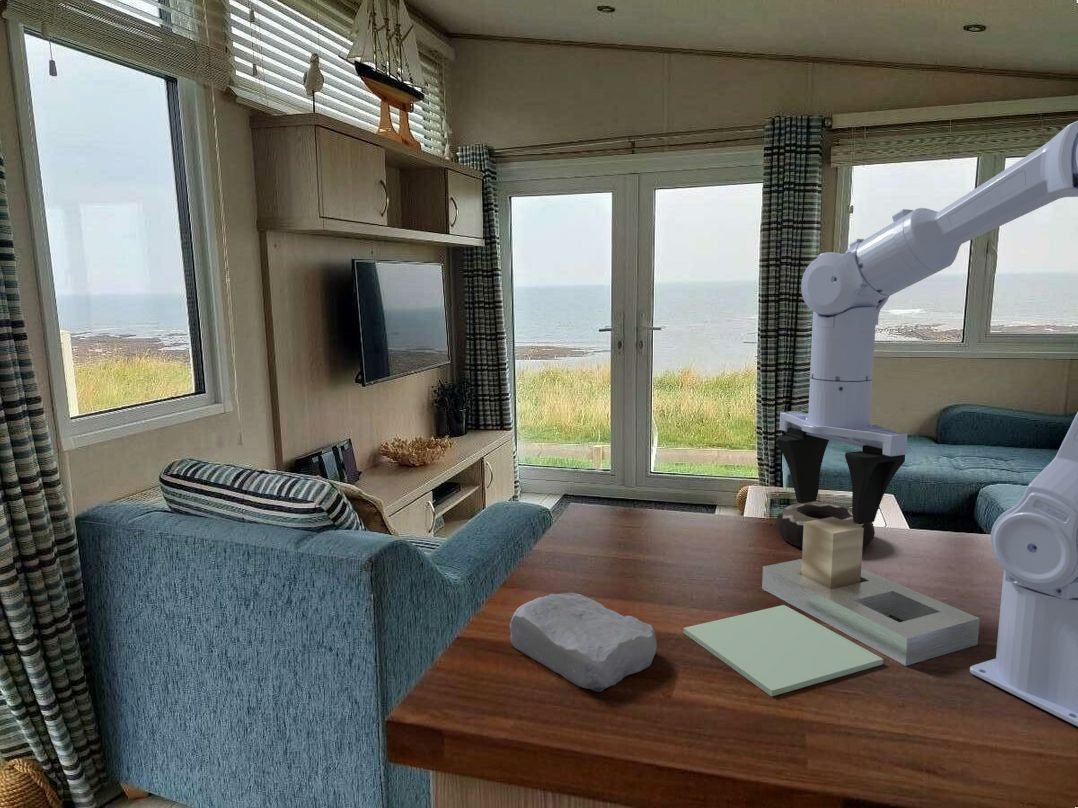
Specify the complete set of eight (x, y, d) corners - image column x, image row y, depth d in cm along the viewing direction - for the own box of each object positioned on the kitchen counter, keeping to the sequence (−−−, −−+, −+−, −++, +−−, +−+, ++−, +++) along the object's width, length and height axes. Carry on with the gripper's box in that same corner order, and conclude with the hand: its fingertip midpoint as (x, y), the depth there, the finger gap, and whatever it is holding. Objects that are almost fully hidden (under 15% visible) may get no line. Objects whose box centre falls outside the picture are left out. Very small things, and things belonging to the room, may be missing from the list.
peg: (859, 603, 75) (863, 527, 74) (829, 610, 73) (833, 533, 72) (829, 588, 78) (833, 516, 77) (800, 595, 77) (803, 522, 76)
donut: (773, 551, 90) (774, 520, 90) (777, 523, 101) (778, 495, 100) (877, 562, 86) (879, 530, 86) (870, 532, 97) (871, 502, 96)
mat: (882, 664, 63) (883, 658, 62) (771, 696, 58) (771, 690, 58) (783, 609, 73) (784, 604, 73) (683, 632, 69) (683, 627, 69)
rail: (977, 644, 66) (979, 618, 65) (905, 665, 62) (907, 638, 62) (826, 575, 82) (827, 553, 82) (762, 588, 79) (762, 566, 78)
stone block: (576, 633, 73) (497, 645, 67) (585, 586, 73) (506, 594, 66) (668, 685, 64) (587, 705, 58) (678, 632, 64) (598, 646, 57)
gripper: (758, 373, 77) (754, 498, 79) (870, 389, 64) (861, 538, 66) (810, 369, 80) (805, 490, 82) (927, 384, 67) (917, 527, 69)
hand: (833, 511), depth 74 cm, fingers open, 7 cm apart
